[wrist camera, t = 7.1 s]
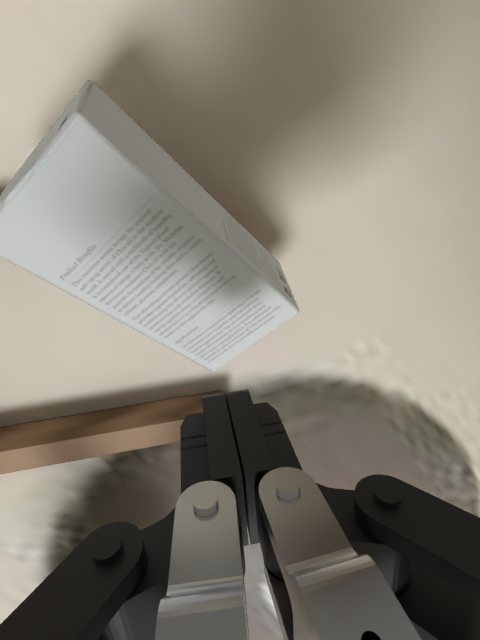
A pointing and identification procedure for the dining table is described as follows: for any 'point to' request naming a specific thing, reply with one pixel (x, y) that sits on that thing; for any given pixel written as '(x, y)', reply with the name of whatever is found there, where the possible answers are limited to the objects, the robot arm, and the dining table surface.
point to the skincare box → (139, 237)
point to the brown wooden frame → (95, 433)
